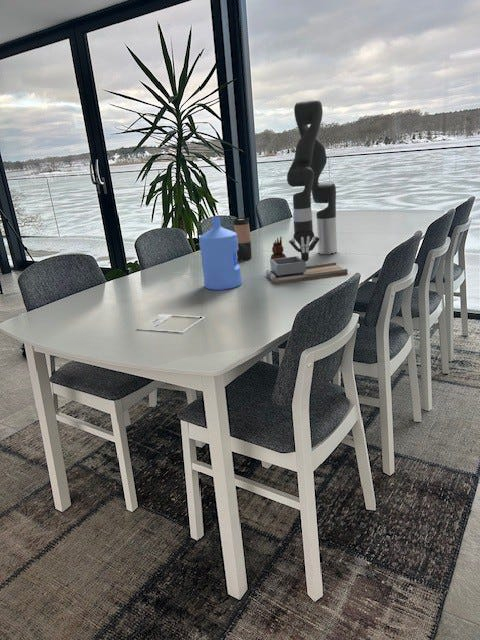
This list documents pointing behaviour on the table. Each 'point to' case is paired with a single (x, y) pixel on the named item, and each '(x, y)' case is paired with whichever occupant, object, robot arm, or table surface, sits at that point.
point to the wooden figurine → (278, 250)
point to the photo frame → (165, 316)
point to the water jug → (220, 257)
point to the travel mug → (243, 238)
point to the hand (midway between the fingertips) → (305, 261)
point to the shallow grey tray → (288, 266)
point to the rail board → (309, 273)
